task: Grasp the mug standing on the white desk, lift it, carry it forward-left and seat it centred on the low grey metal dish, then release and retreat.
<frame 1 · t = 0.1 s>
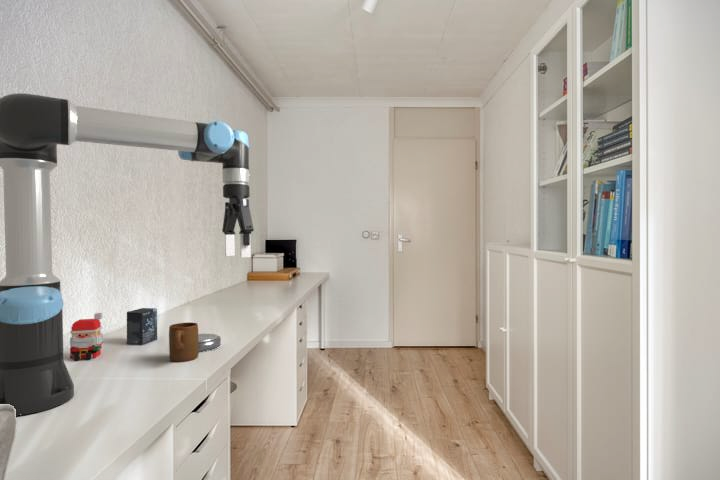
hand: (237, 256, 130), 28 cm above the table, fingers open, 13 cm apart
box: (142, 342, 143), on the table
mug: (182, 361, 121), on the table
figurine: (86, 358, 126), on the table
grey metal dish: (200, 347, 135), on the table
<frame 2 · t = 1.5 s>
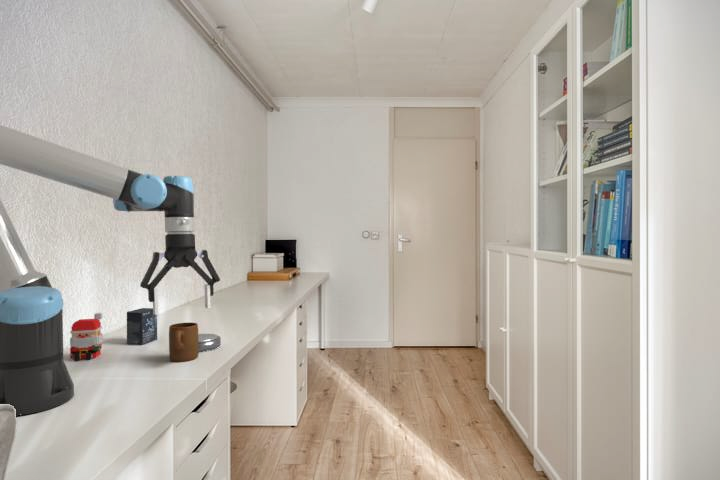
hand: (182, 310, 121), 14 cm above the table, fingers open, 13 cm apart
nothing on the table moved.
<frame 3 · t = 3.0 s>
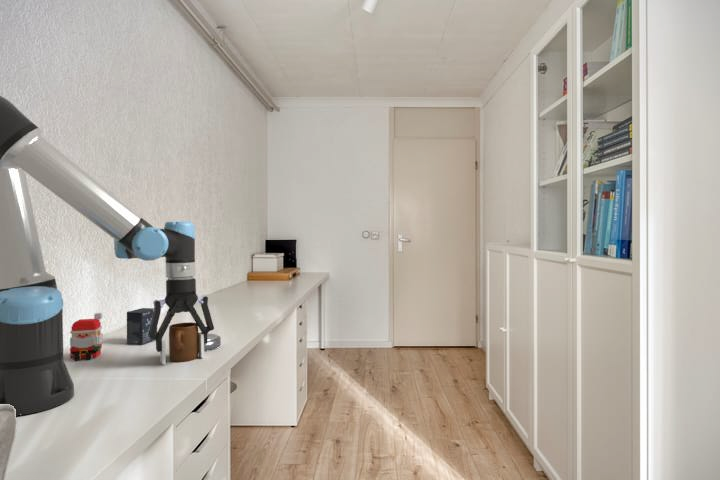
hand: (182, 359, 121), 0 cm above the table, fingers open, 9 cm apart
mug: (182, 361, 121), on the table, touching gripper
everything else where it was.
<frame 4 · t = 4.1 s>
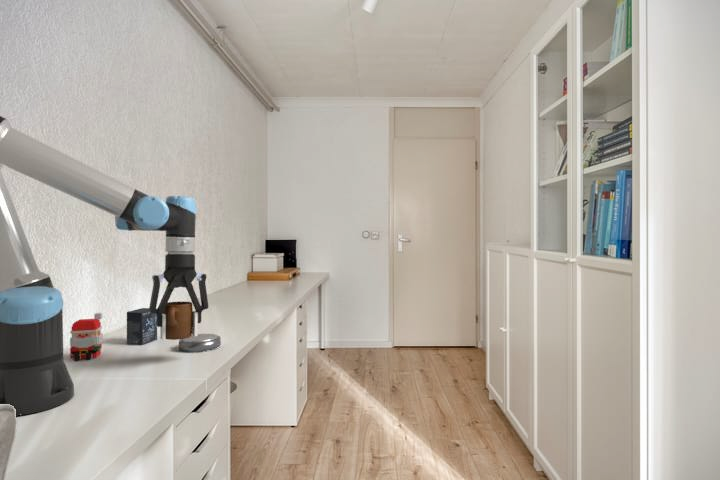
hand: (179, 336, 120), 7 cm above the table, fingers closed on mug, 7 cm apart
mug: (175, 339, 119), point 6 cm above the table, touching gripper
everything else where it was.
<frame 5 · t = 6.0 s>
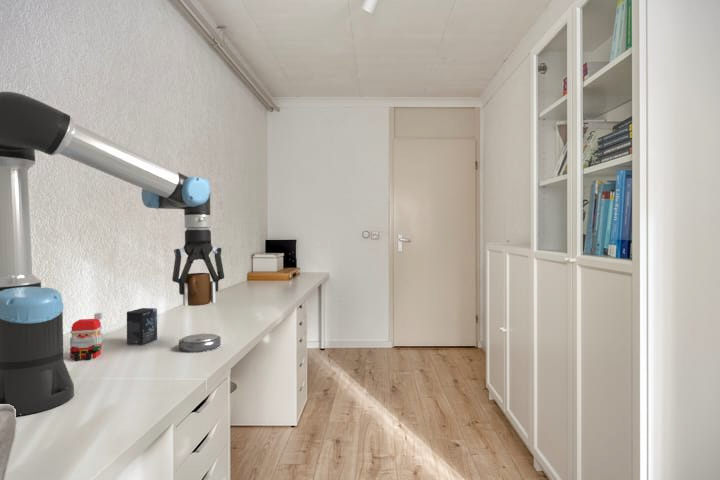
hand: (199, 303, 135), 13 cm above the table, fingers closed on mug, 7 cm apart
mug: (196, 305, 134), point 13 cm above the table, touching gripper
everything else where it was.
when the fingers open (4 cm above the table, at t = 8.4 s): mug stays where it is, resting on grey metal dish.
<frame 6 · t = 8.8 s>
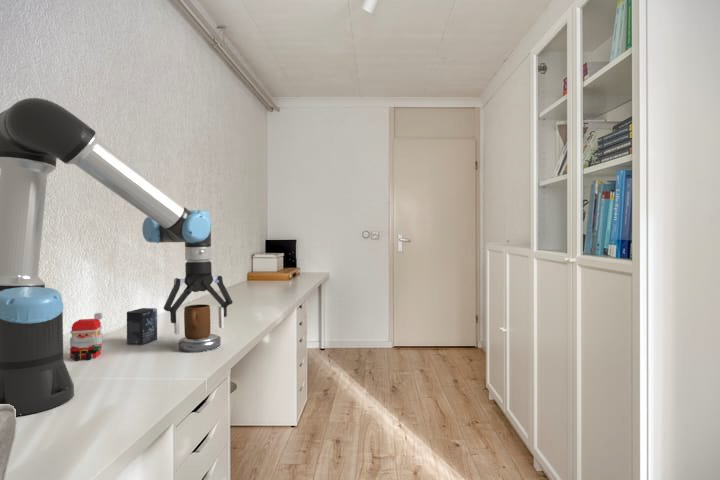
hand: (199, 330, 135), 5 cm above the table, fingers open, 13 cm apart
mug: (196, 338, 134), point 3 cm above the table, touching grey metal dish
everything else where it was.
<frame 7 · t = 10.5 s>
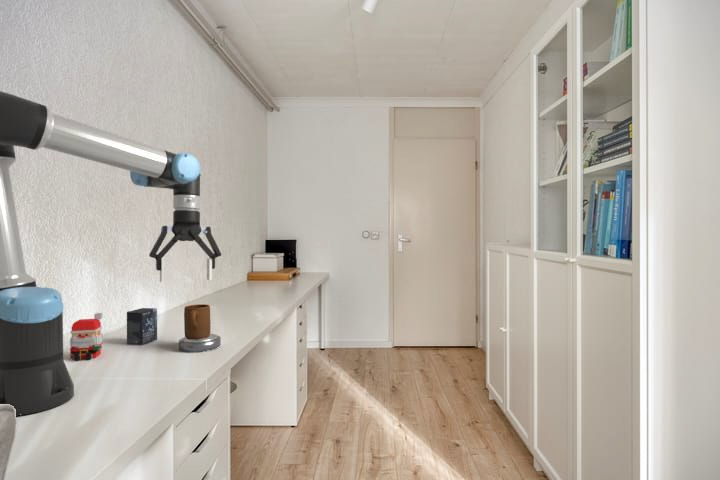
hand: (186, 280, 133), 21 cm above the table, fingers open, 13 cm apart
nothing on the table moved.
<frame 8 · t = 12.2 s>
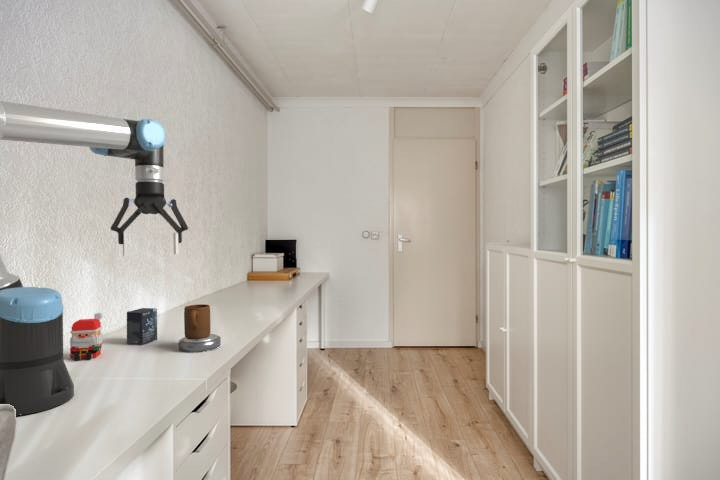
hand: (151, 255, 128), 29 cm above the table, fingers open, 13 cm apart
nothing on the table moved.
at the end: mug inside the target area on the grey metal dish (1.1 cm from its centre), point 2.8 cm above the grey metal dish's base; mug tilted 0°; the gripper is holding nothing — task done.
